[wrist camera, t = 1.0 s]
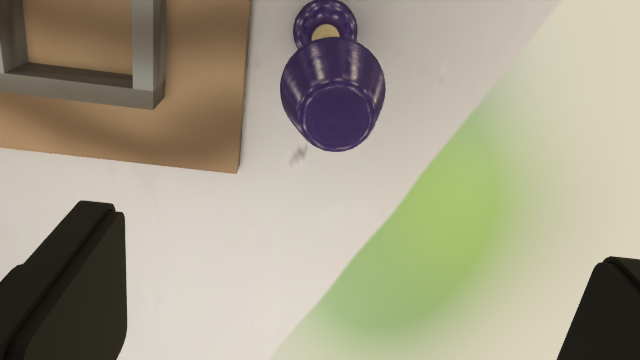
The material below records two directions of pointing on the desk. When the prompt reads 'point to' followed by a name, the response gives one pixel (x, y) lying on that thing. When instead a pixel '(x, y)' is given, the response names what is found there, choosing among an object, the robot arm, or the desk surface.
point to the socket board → (125, 79)
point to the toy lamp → (331, 79)
